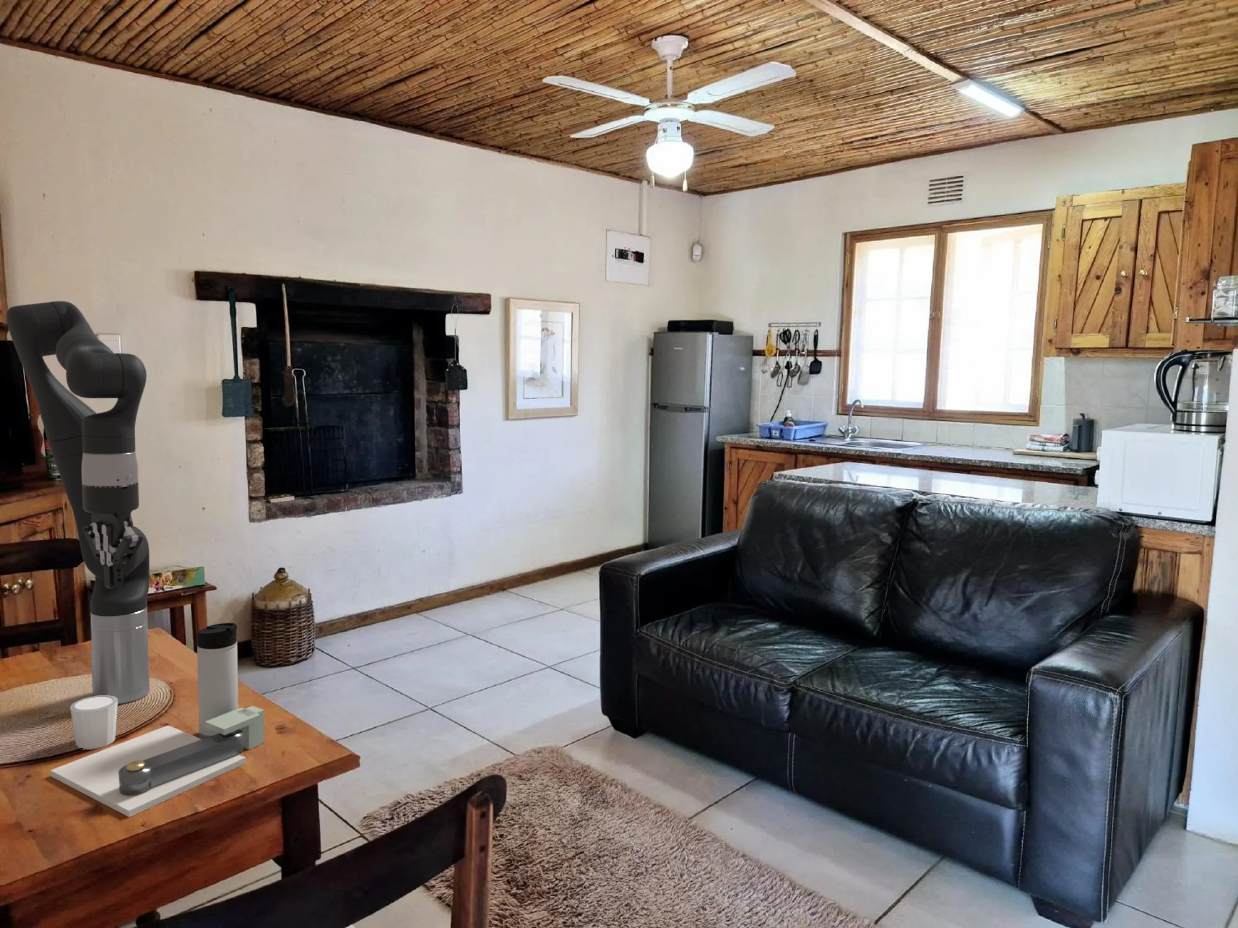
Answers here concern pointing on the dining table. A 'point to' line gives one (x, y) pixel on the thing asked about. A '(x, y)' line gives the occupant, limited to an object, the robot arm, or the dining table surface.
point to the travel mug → (216, 673)
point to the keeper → (241, 725)
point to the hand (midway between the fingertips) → (114, 587)
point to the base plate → (102, 768)
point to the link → (178, 762)
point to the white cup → (94, 721)
